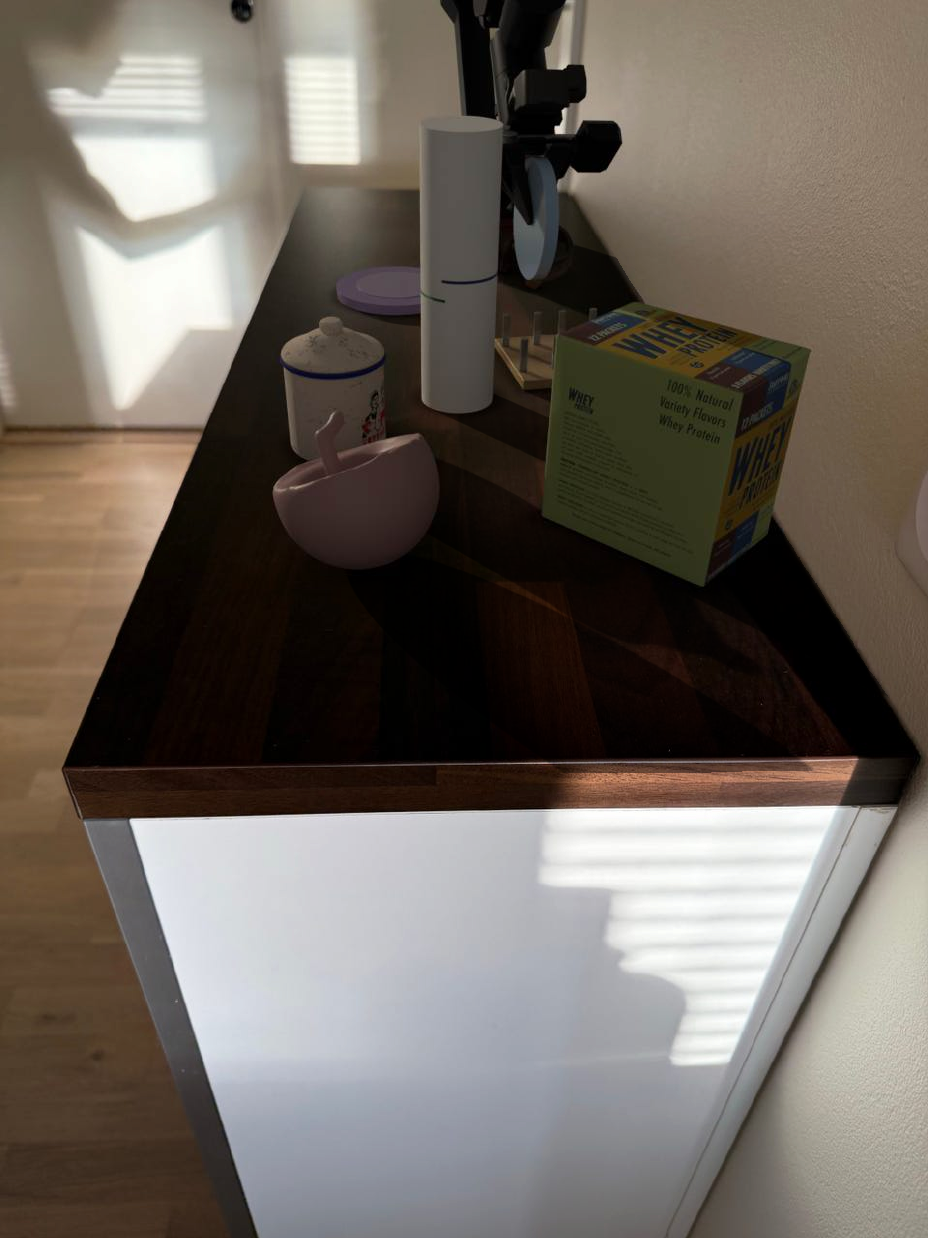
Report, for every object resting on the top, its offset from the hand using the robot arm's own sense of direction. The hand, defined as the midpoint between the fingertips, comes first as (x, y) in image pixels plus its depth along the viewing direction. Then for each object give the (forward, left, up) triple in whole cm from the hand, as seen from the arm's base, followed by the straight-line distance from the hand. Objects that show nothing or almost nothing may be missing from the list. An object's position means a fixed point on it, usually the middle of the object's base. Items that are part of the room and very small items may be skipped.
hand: (538, 223), depth 102 cm
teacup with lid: (+27, -15, -13) cm, 33 cm away
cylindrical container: (+16, -6, -13) cm, 21 cm away
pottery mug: (-23, -4, -13) cm, 27 cm away
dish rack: (+5, +3, -13) cm, 14 cm away
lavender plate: (-13, -19, -13) cm, 26 cm away
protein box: (+37, +14, -13) cm, 42 cm away
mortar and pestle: (+46, -8, -13) cm, 48 cm away
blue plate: (-1, 0, 0) cm, 1 cm away
